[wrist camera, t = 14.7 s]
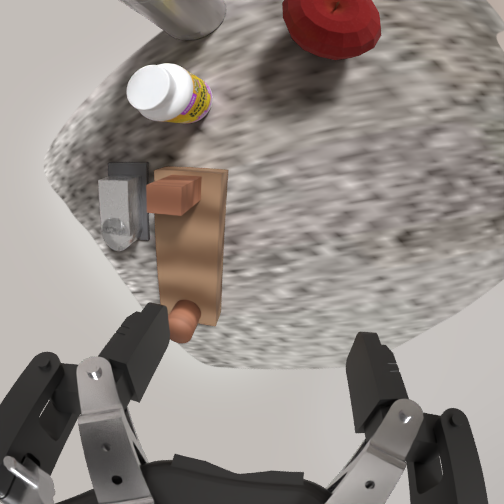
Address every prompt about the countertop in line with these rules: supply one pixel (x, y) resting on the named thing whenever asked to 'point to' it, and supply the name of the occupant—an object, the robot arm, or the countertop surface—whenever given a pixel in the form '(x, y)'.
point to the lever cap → (120, 210)
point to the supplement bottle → (169, 94)
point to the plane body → (189, 244)
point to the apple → (333, 26)
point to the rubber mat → (142, 171)
